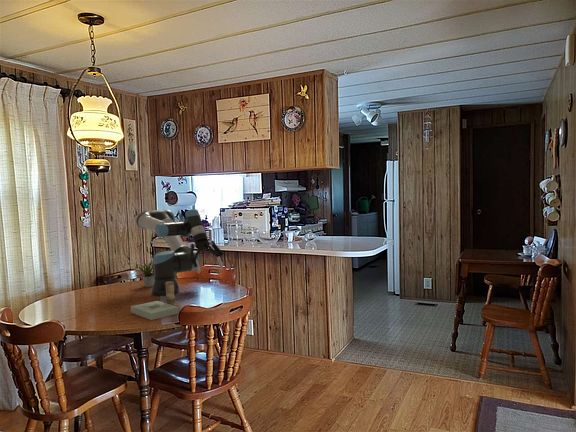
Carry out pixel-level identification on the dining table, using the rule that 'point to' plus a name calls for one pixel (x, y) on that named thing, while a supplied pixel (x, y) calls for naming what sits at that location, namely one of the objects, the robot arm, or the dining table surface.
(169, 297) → the peg
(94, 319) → the dining table surface
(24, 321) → the dining table surface
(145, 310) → the seat plank
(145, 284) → the house plant
